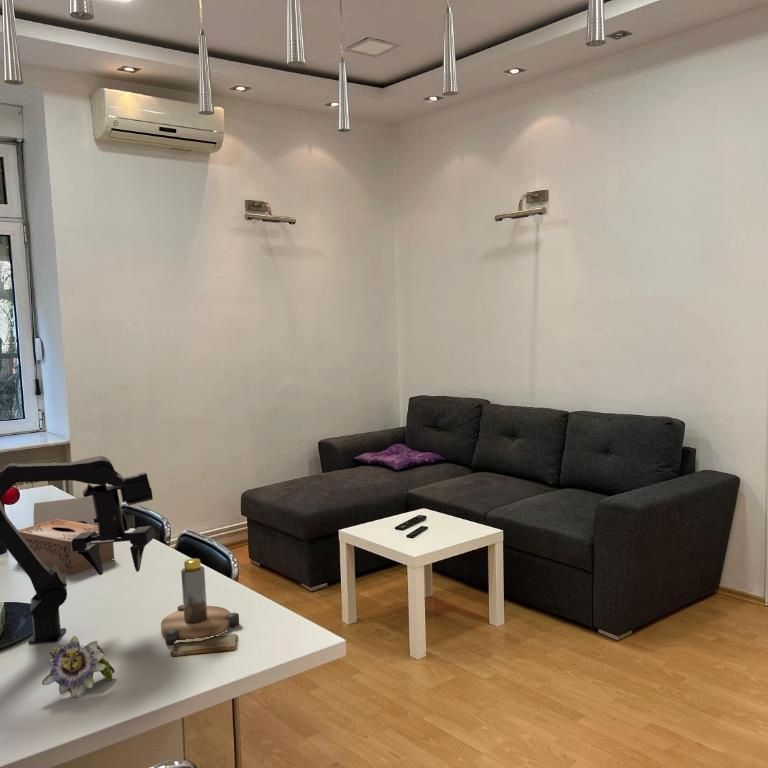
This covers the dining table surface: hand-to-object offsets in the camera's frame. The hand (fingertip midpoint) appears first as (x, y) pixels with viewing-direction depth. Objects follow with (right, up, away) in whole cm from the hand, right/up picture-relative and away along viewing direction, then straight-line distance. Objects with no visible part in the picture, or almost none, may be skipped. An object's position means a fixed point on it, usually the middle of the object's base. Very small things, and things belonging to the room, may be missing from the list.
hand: (119, 572), depth 184 cm
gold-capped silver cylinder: (+19, -10, -3) cm, 22 cm away
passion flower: (+2, -16, -29) cm, 33 cm away
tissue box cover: (-33, -9, +49) cm, 60 cm away
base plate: (+19, -12, -3) cm, 23 cm away
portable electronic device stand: (-41, -7, +74) cm, 85 cm away
